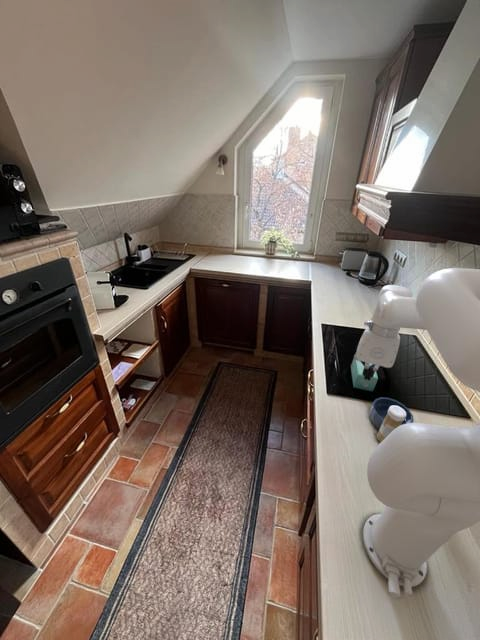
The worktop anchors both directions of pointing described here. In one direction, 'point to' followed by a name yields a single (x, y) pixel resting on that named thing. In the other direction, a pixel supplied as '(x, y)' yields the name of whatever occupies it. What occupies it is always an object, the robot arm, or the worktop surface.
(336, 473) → the worktop surface
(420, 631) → the worktop surface
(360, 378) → the box
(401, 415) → the sprinkles bottle
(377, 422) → the bowl
